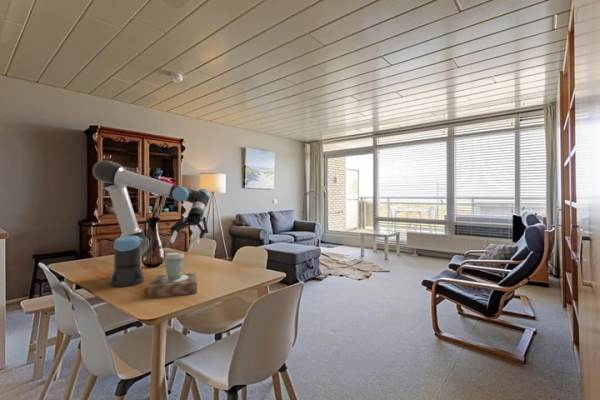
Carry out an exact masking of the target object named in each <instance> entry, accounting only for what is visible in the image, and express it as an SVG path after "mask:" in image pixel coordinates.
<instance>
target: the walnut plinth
mask: <svg viewBox="0 0 600 400" xmlns="http://www.w3.org/2000/svg"><path fill="white" fill-rule="evenodd" d="M197 293H198V281H197V272H190V273H182V274H181V278H180V279H177V280H169V279H168V275H167V274H164V275H154V276H152V278H151V281H150V284H149V286H148V298H149V299H152V298H153V299H154V298H162V297H173V296H182V295H191V294H197Z"/></svg>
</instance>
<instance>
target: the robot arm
mask: <svg viewBox="0 0 600 400" xmlns="http://www.w3.org/2000/svg"><path fill="white" fill-rule="evenodd" d="M92 175H93V178H95V179H96V180H97V181H99V182H101V183H102V185H103V188H104V190H106V191H108V193H109V196H110V200H111V202H112V205H113V208H114V212H115V216H116V218H117V221H118V225H119V227H120V231H121V234H120V236H119V237H117V238H116V239H114V243H113V250H114V251H113V253H114V254H113V255H114V257H113V259H114V264H113V265H114V269H113V272H112V274H111V277H110V281H109V285H110V286H112V287H121V288H123V287H128V286H129V287H130V286H135V285H140V284H141V283H143V282H145V276H144V272H143V271H142V268H141V256H143V255H145V254H146V252H147V251H148V249H149V247H150V241H149V238H148V237H146V236H145V232H144V229H141V228H140V227H139V224H138V220H137V218H136V217H137V216H136V214H135V211H134V208H133V205H132V201H131V198H130V194H129V191H128V188H127V187H130V188H134V189H138V190H140V191H145V192H148V193H151V194H153V195H154V194H155V195H158V196H162V197H164V198H169V199H172V200H175V201H177V202H188V203H191V204H192V205H191V207H190V209H189V211H188V214H187V217H184V216H181V217H180V219H179V220H178V221H176V223H174V224H173V225H172V226H170V229H169V230H170V232H171V235H170V236H171V238H170V239H169V241H170V243H171V244H175V243H174V242H175V240H176V238H177V236H178V233H179V232H180V231H181V230H183V229H185V228H186V227H189V226H190V227H191V226H194V227H195V226H197V227H198V230H199V232H198V233H197V237H196V240H195V243H196V245H199V244H200V241H201V239H203V238H204V235H205V234H209V230H208V225H207V222H208V221H207V219H206V217H205V216H204V214H205V211H206V209H207V205H208V203H209V200H210V198H211V192H210V191H209V190H208V189H205V188H200V189H198V190H194V189H191V188H188V187H185V186H182V185H177V184H174V183H171V182H167V181H163V180H160V179H157V178H154V177H150V176H147V175H143V174H140V173H136V172H133V171H130V170H127V169H126V167H125V166H123V165H122V164H120V163H119V162H114V161H112V160H111V161H110V160H100V161H98V162H96V163H95V164H94V165H93V168H92ZM201 222H202V224H203V227H202V225H201V224H200V223H201ZM203 228H204V229H203Z"/></svg>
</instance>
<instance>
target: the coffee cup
mask: <svg viewBox="0 0 600 400" xmlns="http://www.w3.org/2000/svg"><path fill="white" fill-rule="evenodd" d="M184 258H185V256H184V252H183V251H182V252H181V251H173V252H172V251H171V252H166V253H165V256H164V259H165V267H166V275H168V279H169V280H177V279H180V278H181V274H183V272H182V270H183V264H184Z"/></svg>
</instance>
